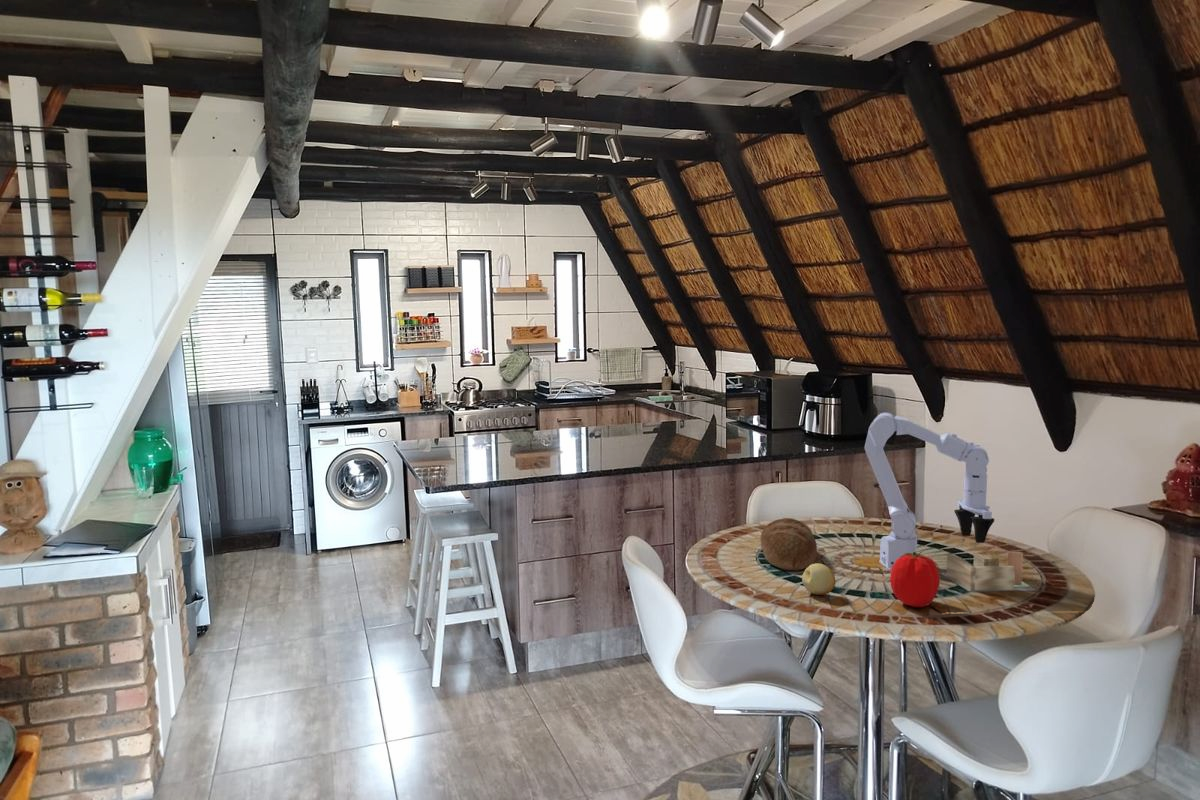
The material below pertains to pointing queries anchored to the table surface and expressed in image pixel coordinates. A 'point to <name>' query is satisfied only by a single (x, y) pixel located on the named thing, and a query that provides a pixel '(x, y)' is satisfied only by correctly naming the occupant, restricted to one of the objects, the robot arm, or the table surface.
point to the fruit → (818, 579)
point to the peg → (1016, 565)
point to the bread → (788, 544)
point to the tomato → (914, 579)
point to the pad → (1022, 585)
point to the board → (994, 590)
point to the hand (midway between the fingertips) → (972, 538)
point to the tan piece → (981, 573)
